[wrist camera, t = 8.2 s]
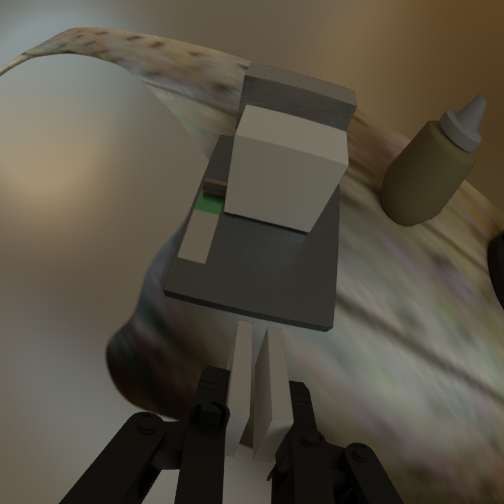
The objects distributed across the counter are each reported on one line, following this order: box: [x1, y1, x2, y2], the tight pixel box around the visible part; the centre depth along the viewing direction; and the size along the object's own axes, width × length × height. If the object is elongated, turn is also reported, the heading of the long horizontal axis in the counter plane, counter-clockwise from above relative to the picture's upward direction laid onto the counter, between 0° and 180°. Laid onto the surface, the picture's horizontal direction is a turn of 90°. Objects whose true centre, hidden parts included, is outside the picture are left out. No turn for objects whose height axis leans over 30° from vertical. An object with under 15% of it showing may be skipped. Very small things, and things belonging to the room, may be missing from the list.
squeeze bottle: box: [381, 95, 487, 226], centre depth 26 cm, size 8×8×18 cm
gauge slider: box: [202, 105, 349, 233], centre depth 25 cm, size 10×7×9 cm, turn 79°
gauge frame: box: [163, 62, 357, 332], centre depth 24 cm, size 14×19×12 cm
